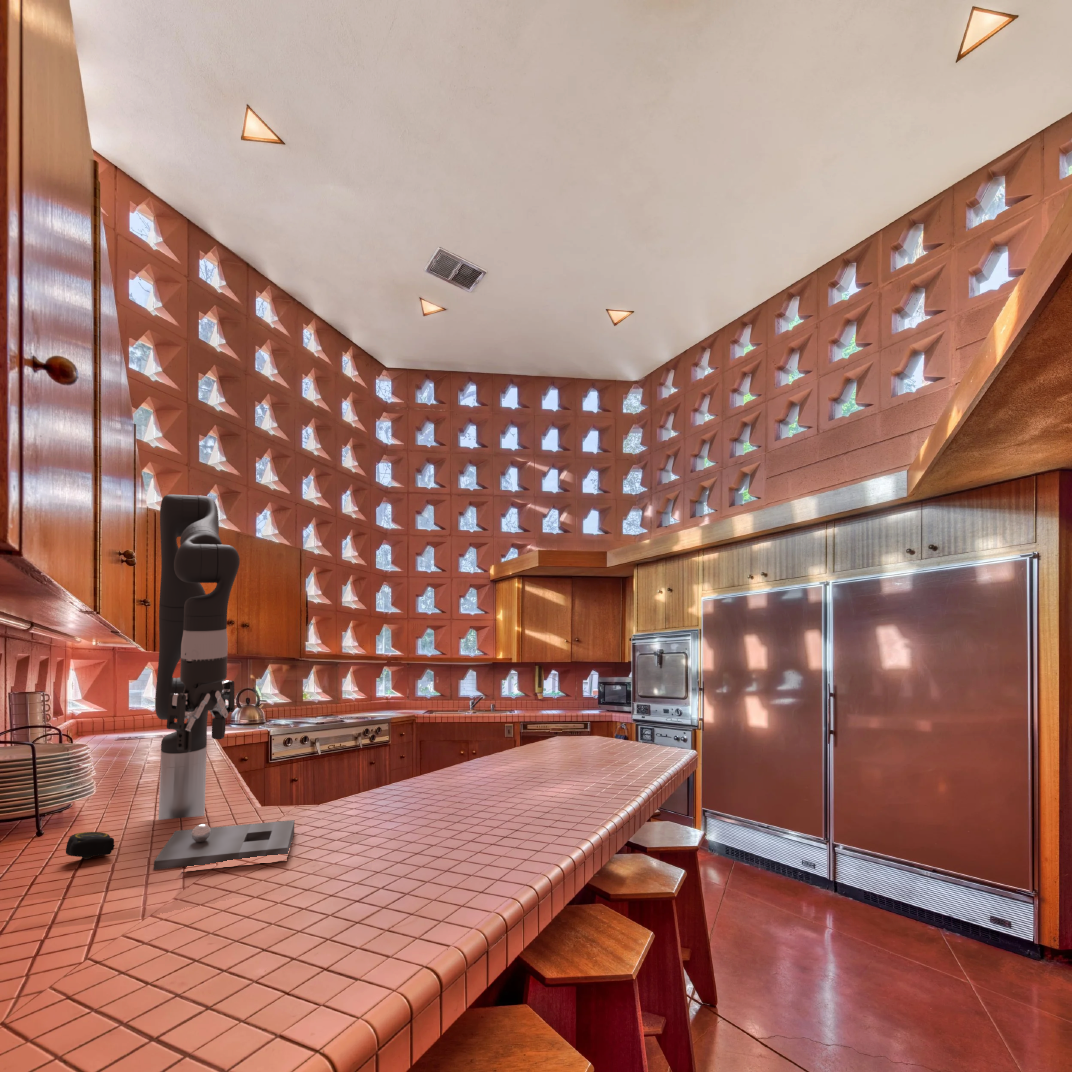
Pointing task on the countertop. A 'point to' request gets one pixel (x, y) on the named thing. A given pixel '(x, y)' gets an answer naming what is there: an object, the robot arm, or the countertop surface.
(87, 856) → the tape measure
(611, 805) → the countertop surface
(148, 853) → the countertop surface
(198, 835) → the steel ball
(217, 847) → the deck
